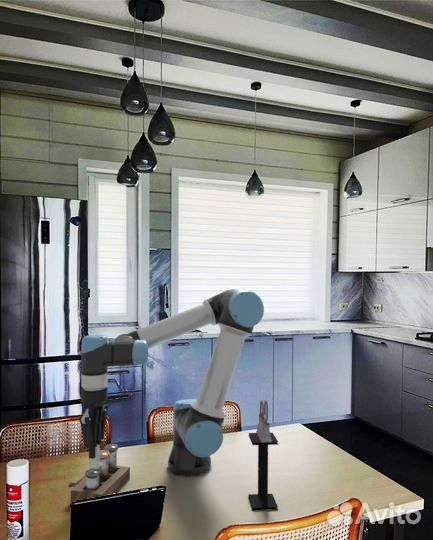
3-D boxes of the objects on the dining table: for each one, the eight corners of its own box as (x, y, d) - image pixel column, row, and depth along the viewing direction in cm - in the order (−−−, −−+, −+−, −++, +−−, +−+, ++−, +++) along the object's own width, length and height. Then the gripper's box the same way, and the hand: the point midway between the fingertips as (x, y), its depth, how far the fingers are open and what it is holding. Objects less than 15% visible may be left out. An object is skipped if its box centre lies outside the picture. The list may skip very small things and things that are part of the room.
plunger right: (120, 468, 134) (120, 444, 134) (113, 474, 130) (114, 449, 130) (108, 467, 135) (108, 443, 135) (101, 473, 131) (101, 448, 131)
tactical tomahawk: (86, 492, 128) (86, 489, 128) (67, 487, 130) (68, 484, 130) (118, 462, 148) (119, 459, 148) (102, 458, 150) (102, 455, 150)
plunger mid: (112, 476, 129) (112, 451, 129) (104, 483, 124) (105, 457, 125) (99, 474, 130) (99, 449, 130) (91, 481, 125) (92, 455, 126)
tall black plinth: (247, 494, 126) (248, 395, 127) (271, 493, 126) (271, 395, 127) (253, 513, 115) (254, 406, 116) (279, 512, 116) (279, 405, 117)
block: (129, 479, 134) (129, 467, 135) (101, 509, 117) (101, 494, 117) (102, 475, 137) (102, 463, 137) (70, 504, 119) (70, 490, 120)
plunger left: (102, 495, 123) (103, 469, 123) (95, 503, 119) (95, 475, 119) (89, 493, 124) (90, 467, 125) (81, 501, 120) (82, 474, 120)
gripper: (94, 381, 130) (94, 457, 129) (70, 392, 117) (70, 476, 117) (116, 382, 128) (116, 459, 127) (94, 394, 115) (93, 479, 115)
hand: (94, 467), depth 122 cm, fingers closed
